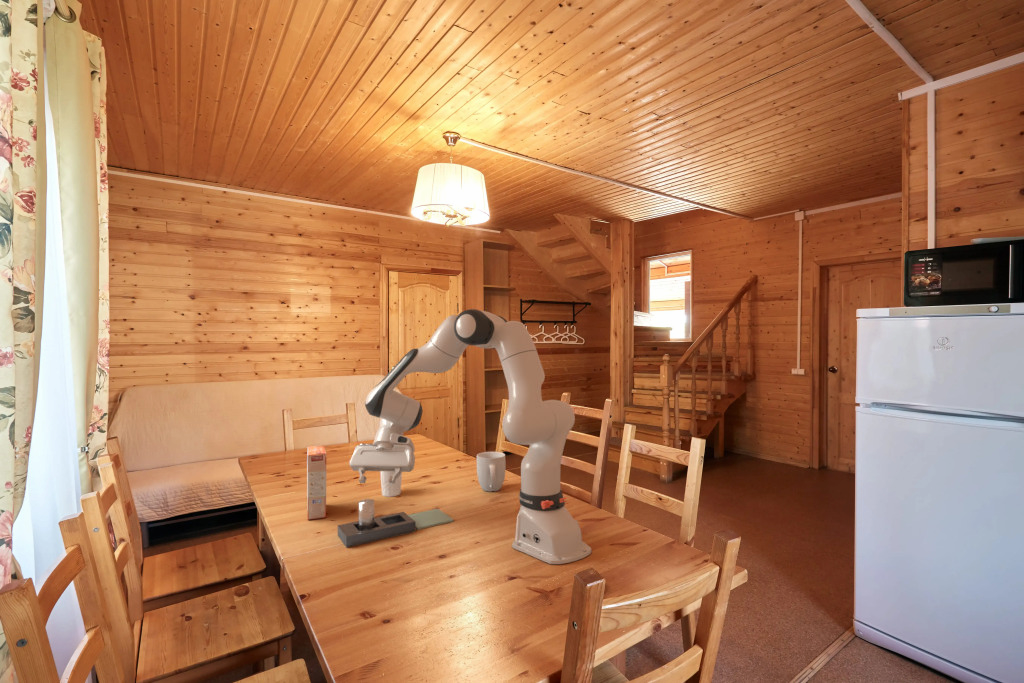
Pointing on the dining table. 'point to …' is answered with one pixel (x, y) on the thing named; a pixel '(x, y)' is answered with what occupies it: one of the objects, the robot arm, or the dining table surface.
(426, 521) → the mat
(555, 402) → the robot arm
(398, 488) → the white cup
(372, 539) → the grey socket block
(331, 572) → the dining table surface
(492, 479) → the mug
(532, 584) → the dining table surface
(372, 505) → the steel peg
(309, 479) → the cracker box
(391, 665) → the dining table surface
